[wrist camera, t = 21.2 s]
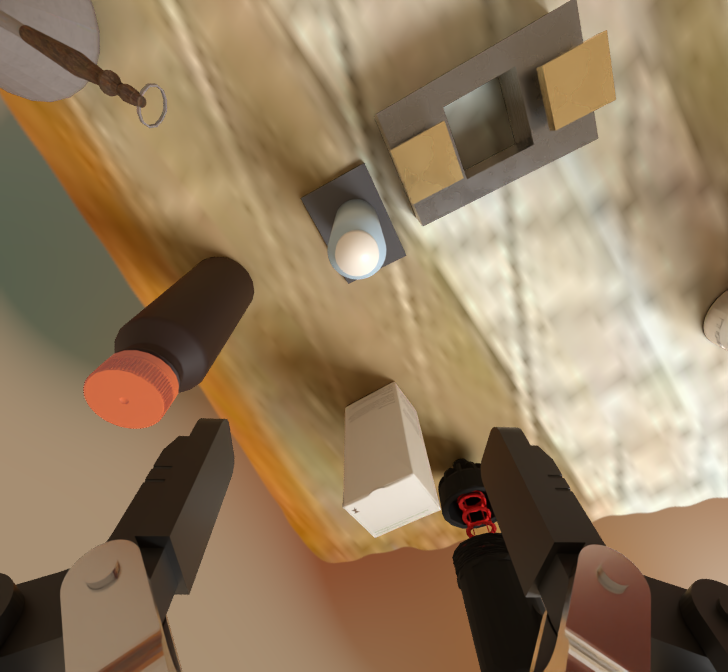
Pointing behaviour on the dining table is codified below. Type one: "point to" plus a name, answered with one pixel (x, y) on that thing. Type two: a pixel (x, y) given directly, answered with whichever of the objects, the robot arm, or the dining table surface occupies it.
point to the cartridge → (356, 240)
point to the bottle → (170, 344)
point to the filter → (489, 577)
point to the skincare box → (386, 463)
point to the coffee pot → (57, 53)
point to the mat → (343, 189)
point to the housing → (523, 104)
